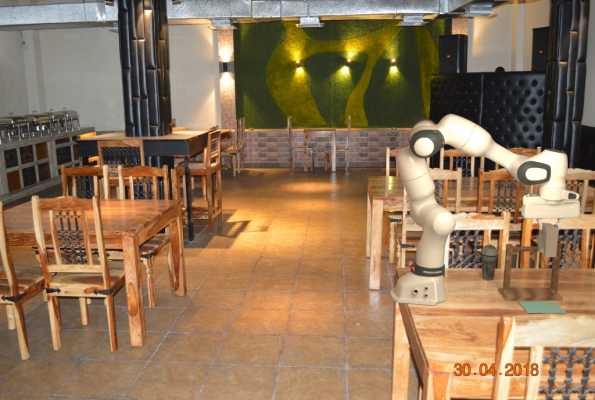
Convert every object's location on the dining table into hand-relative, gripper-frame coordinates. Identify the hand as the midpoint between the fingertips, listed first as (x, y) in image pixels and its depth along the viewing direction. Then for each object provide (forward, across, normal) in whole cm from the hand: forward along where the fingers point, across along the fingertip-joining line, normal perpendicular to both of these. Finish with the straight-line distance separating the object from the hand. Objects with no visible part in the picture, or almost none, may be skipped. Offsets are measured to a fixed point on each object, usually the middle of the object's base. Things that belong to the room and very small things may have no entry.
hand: (548, 229), depth 199 cm
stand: (+32, 0, +12) cm, 34 cm away
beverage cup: (+32, -11, +31) cm, 46 cm away
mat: (+32, 0, 0) cm, 32 cm away
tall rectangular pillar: (+10, 0, 0) cm, 10 cm away
